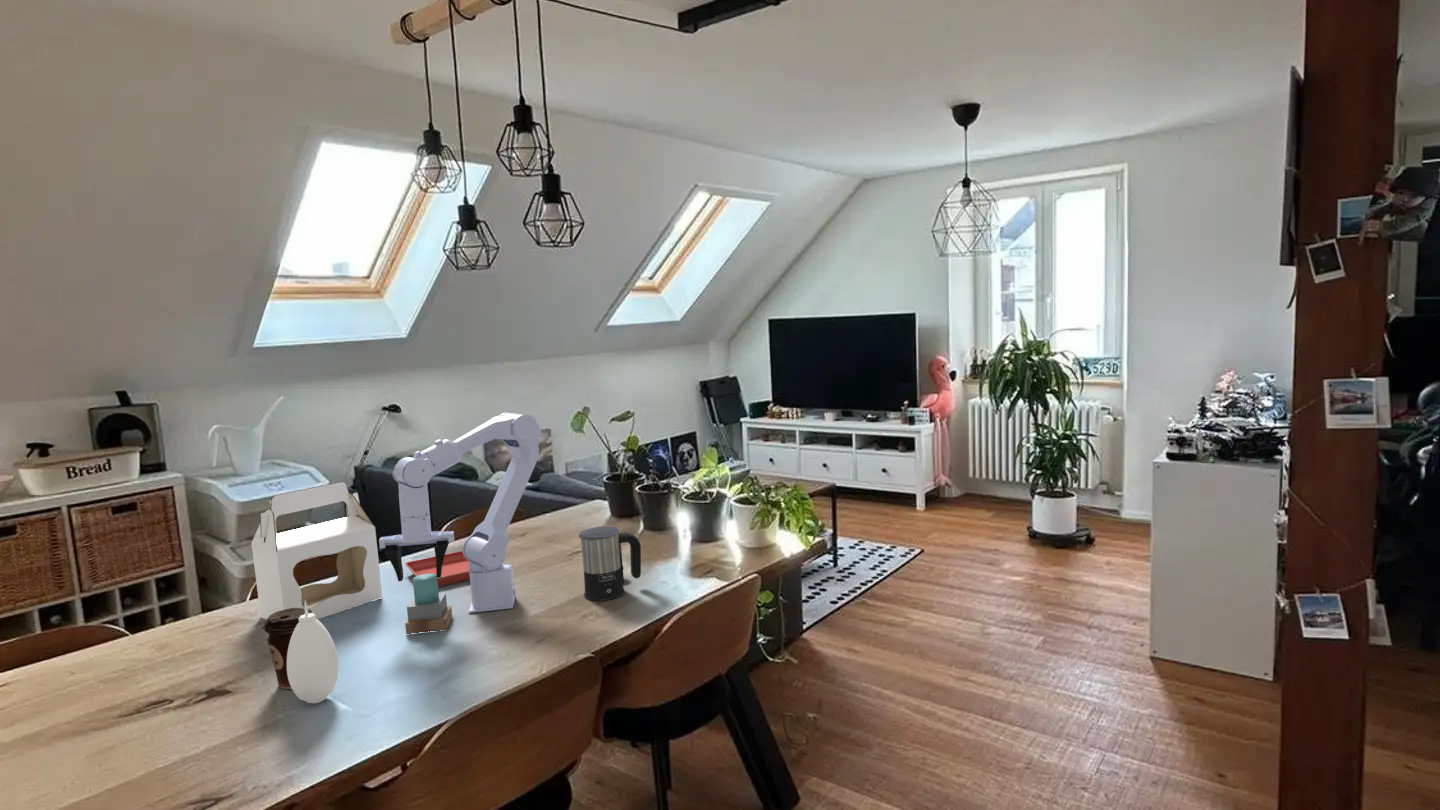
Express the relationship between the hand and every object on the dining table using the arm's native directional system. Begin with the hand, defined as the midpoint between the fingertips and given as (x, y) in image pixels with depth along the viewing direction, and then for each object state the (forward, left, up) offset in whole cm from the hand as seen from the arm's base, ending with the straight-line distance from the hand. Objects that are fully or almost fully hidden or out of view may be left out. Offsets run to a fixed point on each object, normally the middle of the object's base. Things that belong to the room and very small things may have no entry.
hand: (420, 577), depth 167 cm
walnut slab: (-1, 0, -11) cm, 11 cm away
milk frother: (-38, -11, -11) cm, 41 cm away
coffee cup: (+18, +21, -11) cm, 30 cm away
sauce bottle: (+12, +30, -11) cm, 34 cm away
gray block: (-1, 0, -8) cm, 8 cm away
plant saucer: (-1, -34, -11) cm, 35 cm away
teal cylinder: (-1, 0, -5) cm, 5 cm away
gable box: (+25, -19, -11) cm, 33 cm away
